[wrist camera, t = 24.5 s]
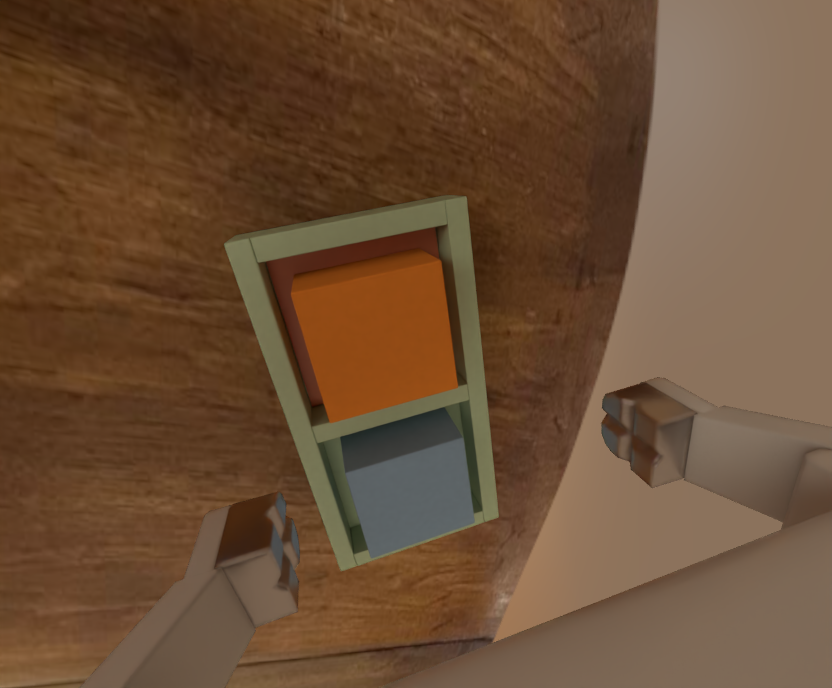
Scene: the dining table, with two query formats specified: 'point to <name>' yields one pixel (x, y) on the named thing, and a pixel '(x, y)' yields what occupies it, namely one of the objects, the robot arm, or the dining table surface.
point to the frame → (292, 369)
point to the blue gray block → (408, 480)
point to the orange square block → (376, 331)
